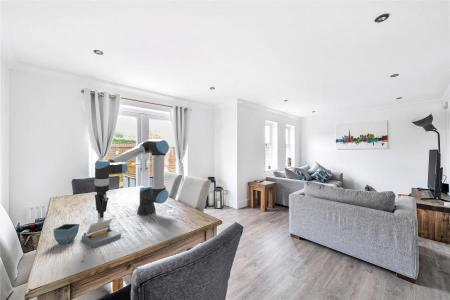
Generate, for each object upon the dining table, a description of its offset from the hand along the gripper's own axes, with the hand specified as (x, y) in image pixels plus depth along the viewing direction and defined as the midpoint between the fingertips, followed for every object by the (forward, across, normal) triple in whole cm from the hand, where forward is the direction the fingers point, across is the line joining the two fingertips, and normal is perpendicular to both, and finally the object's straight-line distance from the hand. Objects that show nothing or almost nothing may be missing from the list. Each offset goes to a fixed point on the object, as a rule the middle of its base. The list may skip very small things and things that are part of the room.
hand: (100, 222), depth 115 cm
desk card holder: (+10, +2, 0) cm, 10 cm away
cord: (+9, -2, 0) cm, 9 cm away
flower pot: (+10, -11, -14) cm, 20 cm away
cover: (+3, 0, 0) cm, 3 cm away
